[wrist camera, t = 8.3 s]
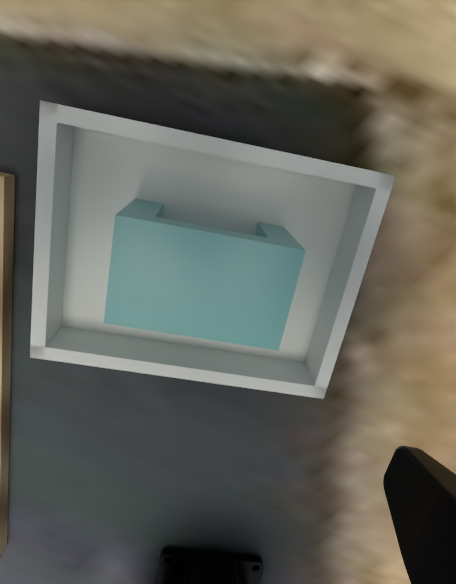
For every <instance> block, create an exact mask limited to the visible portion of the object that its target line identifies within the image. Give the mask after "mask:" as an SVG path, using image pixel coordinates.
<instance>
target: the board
mask: <svg viewBox="0 0 456 584" xmlns="http://www.w3.org/2000/svg"><path fill="white" fill-rule="evenodd" d="M14 199H15V175H13V174H8V173H3V172H0V558H1V556H2V554H3V552H4V550H5V548H6V546H7V527H8V480H9V433H10V386H11V340H12V293H13V246H14Z"/></svg>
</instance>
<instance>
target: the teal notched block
mask: <svg viewBox="0 0 456 584" xmlns="http://www.w3.org/2000/svg"><path fill="white" fill-rule="evenodd" d="M162 211H163V203H157V202H152V201H147V200H142V199H137V198H135V199H134V200H133V201H132V202H130V203H129V204H128V205H127V206H125V207H124V208H123V209H122V210H121V211H119V212H118V213H117V214H116V215H115V222H114V231H113V240H112V249H111V259H110V268H109V277H108V287H107V296H106V305H105V314H104V323H105V324H112V325H118V326H124V327H131V328H137V329H144V330H150V331H156V332H163V333H169V334H175V335H182V336H188V337H195V338H201V339H207V340H214V341H220V342H226V343H233V344H239V345H246V346H252V347H258V348H265V349H271V350H277V351H279V348H280V344H281V340H282V337H283V333H284V329H285V326H286V322H287V318H288V314H289V311H290V307H291V303H292V300H293V296H294V292H295V289H296V285H297V281H298V278H299V274H300V270H301V267H302V263H303V259H304V256H305V252H306V250H305V249H304V248H303V247H302V246H301V245H300V244H299V243H298V241H297V240H296V239H295V238H294V237H293V236H292V235H291V234H290V233H289V232H288V231H287V230H286V228H285V227H281V226H276V225H271V224H266V223H261V222H258V225H257V229H256V234H255V235H250V234H245V233H240V232H234V231H229V230H224V229H219V228H213V227H208V226H203V225H197V224H192V223H187V222H182V221H176V220H171V219H166V218H162Z"/></svg>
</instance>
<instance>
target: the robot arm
mask: <svg viewBox="0 0 456 584" xmlns="http://www.w3.org/2000/svg"><path fill="white" fill-rule="evenodd" d="M383 484H384V490H385V494H386V498H387V502H388V505H389V509H390V513H391V517H392V520H393V524H394V528H395V532H396V535H397V539H398V543H399V547H400V550H401V554H402V557H403V561H404V564H405V567H406V570H407V573H408V576H409V579H410V581H411V584H456V474H454V473H453V472H451V471H450V470H449V469H447V468H446V467H445V466H443V465H442V464H440V463H439V462H438V461H436V460H435V459H433V458H432V457H431V456H429V455H428V454H426V453H425V452H424V451H422V450H421V449H418V448H414V447H407V446H400V447H398V448H397V449H396V451H395V453H394V455H393V457H392V459H391V462H390V464H389V466H388V468H387V471H386V473H385V475H384V482H383ZM263 567H264V566H263V560H262V558H260V557H258V556H249V555H238V554H227V553H217V552H206V551H195V550H184V549H174V548H167V549H164V550H163V551H162V552H161V556H160V561H159V566H158V571H157V576H156V581H155V584H259V581H260V578H261V575H262V572H263Z"/></svg>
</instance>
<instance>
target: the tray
mask: <svg viewBox="0 0 456 584" xmlns="http://www.w3.org/2000/svg"><path fill="white" fill-rule="evenodd" d="M395 177H396V176H395V175H390V174H385V173H381V172H376V171H371V170H366V169H362V168H357V167H352V166H348V165H343V164H338V163H333V162H329V161H324V160H319V159H314V158H310V157H305V156H300V155H296V154H291V153H286V152H281V151H277V150H272V149H267V148H263V147H258V146H253V145H248V144H244V143H239V142H234V141H230V140H225V139H220V138H215V137H211V136H206V135H201V134H196V133H192V132H187V131H182V130H178V129H173V128H168V127H163V126H159V125H154V124H149V123H145V122H140V121H135V120H130V119H126V118H121V117H116V116H112V115H107V114H102V113H97V112H93V111H88V110H83V109H79V108H74V107H69V106H64V105H60V104H55V103H50V102H45V101H41V100H40V111H39V137H38V162H37V188H36V214H35V240H34V265H33V291H32V317H31V343H30V357H31V358H38V359H45V360H52V361H59V362H67V363H74V364H81V365H88V366H95V367H102V368H109V369H116V370H123V371H130V372H137V373H144V374H151V375H158V376H166V377H173V378H180V379H187V380H194V381H201V382H208V383H215V384H222V385H229V386H236V387H243V388H250V389H257V390H264V391H272V392H279V393H286V394H293V395H300V396H307V397H314V398H321V399H324V396H325V393H326V390H327V387H328V384H329V381H330V378H331V375H332V371H333V368H334V365H335V362H336V359H337V356H338V353H339V350H340V347H341V344H342V341H343V338H344V334H345V331H346V328H347V325H348V322H349V319H350V316H351V313H352V310H353V307H354V304H355V300H356V297H357V294H358V291H359V288H360V285H361V282H362V279H363V276H364V273H365V270H366V267H367V263H368V260H369V257H370V254H371V251H372V248H373V245H374V242H375V239H376V236H377V233H378V230H379V226H380V223H381V220H382V217H383V214H384V211H385V208H386V205H387V202H388V199H389V196H390V193H391V189H392V186H393V183H394V180H395ZM135 198H137V199H142V200H147V201H152V202H157V203H163V211H162V218H166V219H171V220H176V221H182V222H187V223H192V224H197V225H203V226H208V227H213V228H219V229H224V230H229V231H234V232H240V233H245V234H250V235H255V234H256V229H257V225H258V222H261V223H266V224H271V225H276V226H281V227H285V228H286V230H287V231H288V232H289V233H290V234H291V235H292V236H293V237H294V238H295V239H296V240H297V241H298V243H299V244H300V245H301V246H302V247H303V248H304V249H305V250H306V252H305V256H304V259H303V263H302V267H301V270H300V274H299V278H298V281H297V285H296V289H295V292H294V296H293V300H292V303H291V307H290V311H289V314H288V318H287V322H286V326H285V329H284V333H283V337H282V340H281V344H280V348H279V351H277V350H271V349H265V348H258V347H252V346H246V345H239V344H233V343H226V342H220V341H214V340H207V339H201V338H195V337H188V336H182V335H175V334H169V333H163V332H156V331H150V330H144V329H137V328H131V327H124V326H118V325H112V324H105V323H104V314H105V305H106V296H107V287H108V277H109V268H110V259H111V249H112V240H113V231H114V222H115V215H116V214H117V213H118V212H119V211H121V210H122V209H123V208H124V207H125V206H127V205H128V204H129V203H130V202H132V201H133V200H134V199H135Z"/></svg>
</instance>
